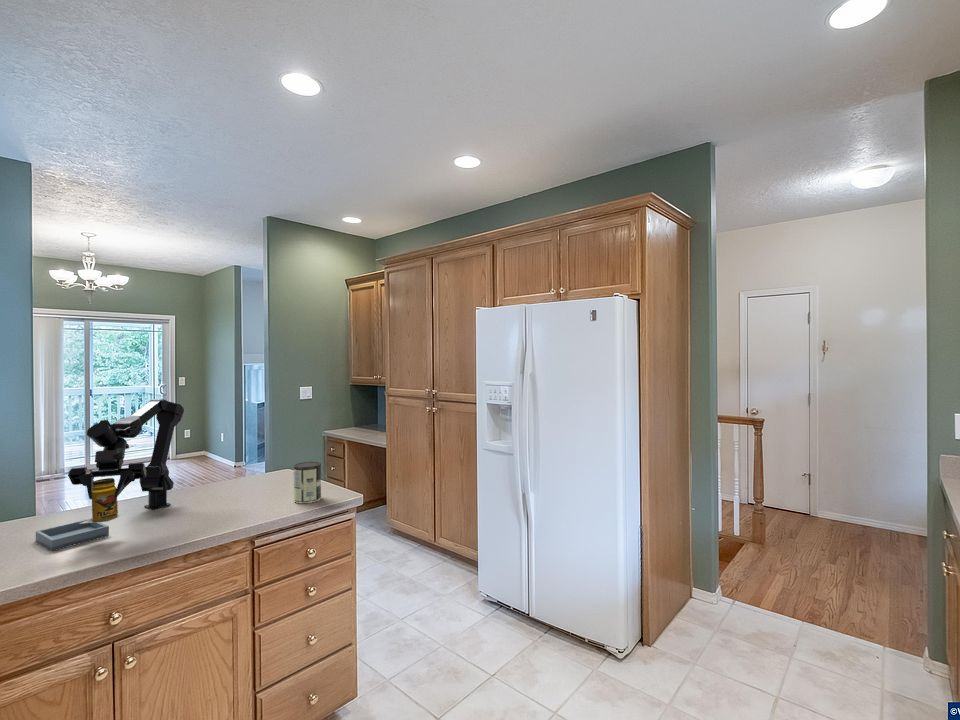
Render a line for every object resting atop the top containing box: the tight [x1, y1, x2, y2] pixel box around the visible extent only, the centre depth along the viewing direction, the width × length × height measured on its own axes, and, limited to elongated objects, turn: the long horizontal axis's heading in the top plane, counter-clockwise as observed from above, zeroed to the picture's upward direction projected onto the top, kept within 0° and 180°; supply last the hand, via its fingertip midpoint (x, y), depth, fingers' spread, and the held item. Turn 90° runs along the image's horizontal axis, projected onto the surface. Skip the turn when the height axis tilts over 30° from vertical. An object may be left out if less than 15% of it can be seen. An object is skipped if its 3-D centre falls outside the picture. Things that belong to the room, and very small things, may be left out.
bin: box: [35, 518, 110, 552], centre depth 142 cm, size 14×14×3 cm
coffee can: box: [292, 461, 322, 504], centre depth 182 cm, size 10×10×14 cm
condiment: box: [79, 477, 124, 524], centre depth 142 cm, size 7×8×12 cm
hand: (103, 497), depth 141 cm, fingers closed on condiment, 6 cm apart
